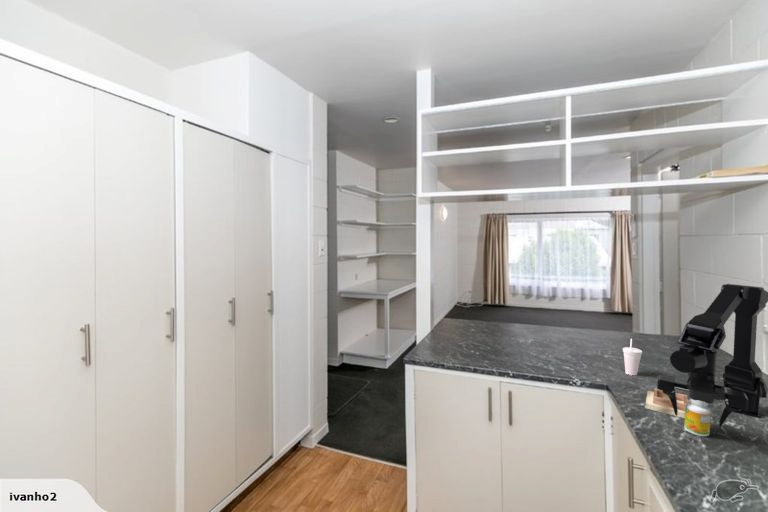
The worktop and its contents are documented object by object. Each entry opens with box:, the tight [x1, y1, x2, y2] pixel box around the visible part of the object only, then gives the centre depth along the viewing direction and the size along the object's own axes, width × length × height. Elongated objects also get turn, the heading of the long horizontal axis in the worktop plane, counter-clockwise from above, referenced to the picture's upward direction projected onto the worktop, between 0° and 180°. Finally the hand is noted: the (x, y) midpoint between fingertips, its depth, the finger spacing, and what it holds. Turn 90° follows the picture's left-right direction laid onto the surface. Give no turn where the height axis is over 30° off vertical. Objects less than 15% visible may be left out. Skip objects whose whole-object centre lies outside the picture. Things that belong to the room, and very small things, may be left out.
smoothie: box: [622, 338, 643, 376], centre depth 140 cm, size 6×6×14 cm
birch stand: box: [644, 387, 690, 419], centre depth 114 cm, size 12×12×4 cm
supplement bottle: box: [683, 397, 712, 437], centre depth 100 cm, size 5×5×10 cm
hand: (697, 420), depth 101 cm, fingers open, 9 cm apart
